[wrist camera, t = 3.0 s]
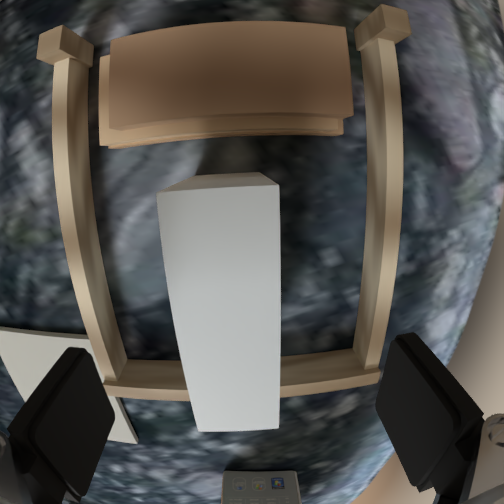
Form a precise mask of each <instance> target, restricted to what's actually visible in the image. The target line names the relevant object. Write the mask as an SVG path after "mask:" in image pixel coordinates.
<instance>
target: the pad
mask: <svg viewBox="0 0 504 504" xmlns="http://www.w3.org/2000/svg"><path fill="white" fill-rule="evenodd" d="M68 347H79V348H85V349H86V350H87V351H88V353H90V354H91V355H92V357H93V360H94V362H95V365H96V368H97V371H98V373H99V376H100V378H101V381H102V383H103V382H104V378H103V376H102V373H101V370H100V368H99V365H98V363H97V360H96V357H95V355H94V352H93V349H92V346H91V343H90V340H89V337H88V335H82V334H68V333H55V332H44V331H34V330H25V329H16V328H8V327H0V355H1V358H2V360H3V362H4V364H5V366H6V368H7V370H8V372H9V374H10V376H11V378H12V380H13V381H14V383H15V385H16V387H17V389H18V391H19V392H20V394H21V396H22V397H23V399H24V401H25V402H26V401H27V399H28V398H29V397H30V395H31V394H32V393H33V391H34V390H35V389H36V387H37V386H38V385H39V383H40V382H41V381H42V379H43V378H44V377H45V375H46V374H47V373H48V372H49V370H50V369H51V368H52V366H53V365H54V364H55V363H56V361H57V360H58V359H59V358H60V356H61V355H62V354H63V353H64V351H65V350H66V349H67V348H68ZM108 398H109V400H110V403H111V405H112V407H113V409H114V412H115V421H114V424H113V426H112V429H111V431H110V434H109V436H108V439H107V440H113V441H119V442H126V443H134V444H137V443H138V437H137V435H136V433H135V431H134V429H133V427H132V425H131V423H130V421H129V419H128V416H127V414H126V412H125V410H124V407H123V405H122V403H121V401H120V398H119V397H115V396H108Z"/></svg>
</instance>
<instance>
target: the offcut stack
mask: <svg viewBox="0 0 504 504" xmlns="http://www.w3.org/2000/svg"><path fill="white" fill-rule="evenodd" d="M353 115H354V113H353V97H352V83H351V72H350V61H349V52H348V44H347V36H346V28H345V27H340V26H332V25H324V24H314V23H302V22H285V21H233V22H216V23H204V24H194V25H186V26H178V27H171V28H165V29H159V30H153V31H148V32H143V33H138V34H134V35H129V36H125V37H121V38H117V39H113V40H111V47H110V55H107V56H103V57H100V71H99V140H100V146H109V148H111V149H121V148H127V147H133V146H140V145H148V144H155V143H163V142H172V141H182V140H192V139H204V138H217V137H234V136H259V135H320V136H337V135H343V119H344V118H347V117H350V116H353Z"/></svg>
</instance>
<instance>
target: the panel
mask: <svg viewBox="0 0 504 504" xmlns="http://www.w3.org/2000/svg"><path fill="white" fill-rule="evenodd" d="M156 197H157V208H158V217H159V226H160V235H161V243H162V251H163V259H164V266H165V273H166V279H167V286H168V292H169V298H170V304H171V310H172V316H173V321H174V327H175V332H176V337H177V342H178V347H179V352H180V357H181V362H182V366H183V371H184V375H185V380H186V384H187V388H188V393H189V397H190V401H191V405H192V409H193V413H194V417H195V420H196V424H197V428H198V431H248V430H264V429H276V428H279V403H280V347H281V255H280V198H279V185H278V184H277V183H275V182H274V181H272V180H271V179H269V178H268V177H266V176H265V175H263V174H261V173H260V172H247V173H228V174H212V175H198V176H193V177H190V178H188V179H186V180H183V181H181V182H179V183H177V184H174V185H172V186H170V187H168V188H165V189H163V190H161V191H159V192H157V193H156Z"/></svg>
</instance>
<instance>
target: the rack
mask: <svg viewBox="0 0 504 504" xmlns="http://www.w3.org/2000/svg"><path fill="white" fill-rule="evenodd" d="M411 34H412V33H411V28H410V23H409V18H408V14H407V11H406V10H403V9H399V8H396V7H392V6H388V5H384V4H380V5H379V6H378V7H377V8H376V9H375V10H374V11H373V12H372V13H371V14H370V15H368V16H367V17H366V18H365V19H364V20H363V21H362V22H361V23H360V24H359V25H358V26H357V27H356V28H355V29H354V35H355V43H356V50H357V51H360V53H361V61H362V71H363V82H364V94H365V109H366V131H367V207H366V229H365V245H364V259H363V270H362V281H361V290H360V299H359V307H358V315H357V322H356V329H355V336H354V342H353V348H351V349H344V350H337V351H329V352H321V353H312V354H303V355H292V356H281V357H280V397H290V396H299V395H308V394H316V393H323V392H330V391H336V390H342V389H348V388H354V387H359V386H365V385H370V384H375V383H378V380H379V377H380V373H381V371H380V370H379V368H378V365H379V361H380V357H381V352H382V348H383V343H384V339H385V334H386V329H387V324H388V319H389V313H390V307H391V302H392V295H393V289H394V282H395V275H396V267H397V259H398V250H399V240H400V228H401V214H402V195H403V126H402V107H401V94H400V83H399V74H398V65H397V58H396V51H395V44H396V43H398V42H400V41H401V40H403V39H405V38H406V37H408V36H410V35H411ZM93 51H94V45H92V44H91V43H89V42H88V41H86V40H85V39H83V38H82V37H80V36H79V35H77V34H76V33H74V32H73V31H71V30H70V29H68V28H67V27H65V26H64V25H61V26H58V27H56V28H54V29H51V30H49V31H47V32H44V33H42V34H40V37H39V43H38V50H37V59H39V60H42V61H44V62H47V63H49V64H52V65H54V77H53V95H52V142H53V161H54V174H55V185H56V194H57V202H58V210H59V217H60V223H61V229H62V235H63V240H64V246H65V251H66V256H67V260H68V265H69V270H70V274H71V278H72V282H73V286H74V290H75V294H76V298H77V301H78V305H79V308H80V312H81V315H82V318H83V322H84V325H85V328H86V331H87V334H88V337H89V340H90V343H91V346H92V349H93V352H94V355H95V357H96V360H97V363H98V365H99V368H100V370H101V373H102V376H103V378H104V382H103V386H104V388H105V391H106V393H107V396H115V397H125V398H136V399H151V400H171V401H190V397H189V393H188V388H187V384H186V380H185V375H184V371H183V366H182V362H181V361H167V360H133V359H127V356H126V353H125V349H124V346H123V343H122V339H121V336H120V332H119V329H118V325H117V321H116V317H115V314H114V310H113V306H112V302H111V297H110V293H109V289H108V284H107V280H106V275H105V270H104V265H103V260H102V255H101V249H100V243H99V237H98V231H97V224H96V217H95V210H94V202H93V193H92V183H91V172H90V159H89V141H88V76H89V68H90V67H92V66H93Z"/></svg>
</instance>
